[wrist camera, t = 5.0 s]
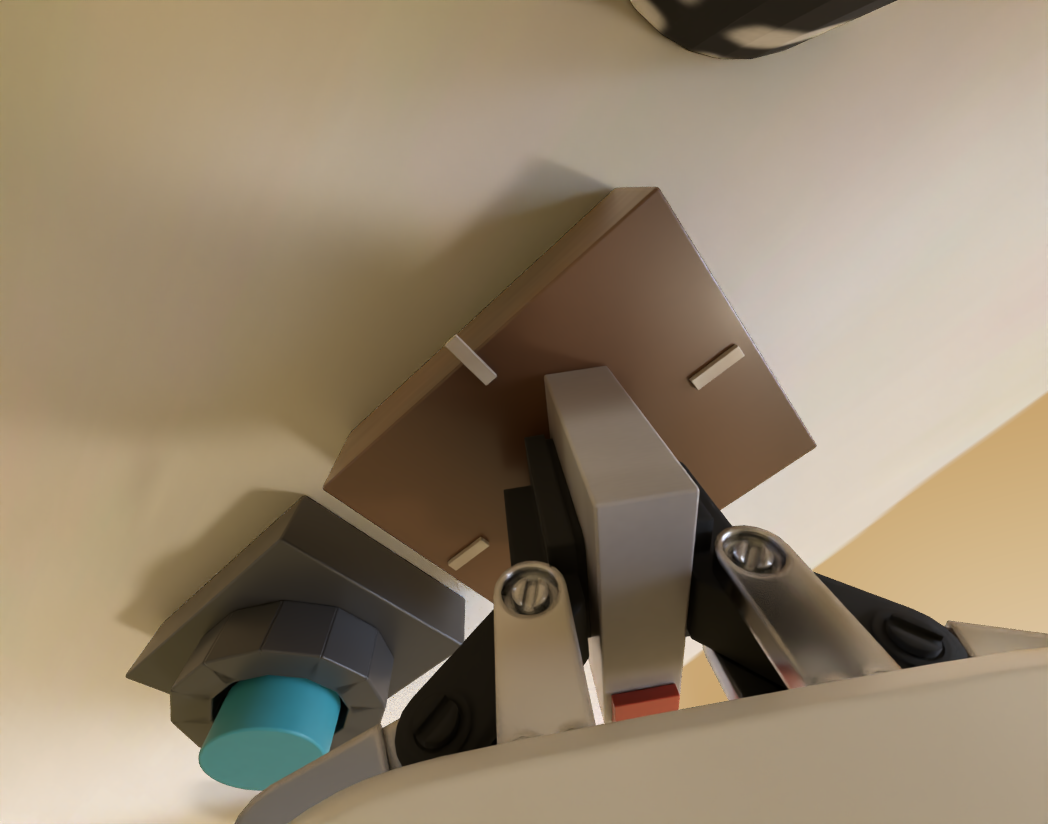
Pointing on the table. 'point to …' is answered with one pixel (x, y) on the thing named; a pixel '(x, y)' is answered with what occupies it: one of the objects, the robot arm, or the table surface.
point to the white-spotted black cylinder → (749, 23)
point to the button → (269, 730)
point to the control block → (304, 624)
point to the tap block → (559, 346)
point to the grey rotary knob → (627, 539)
